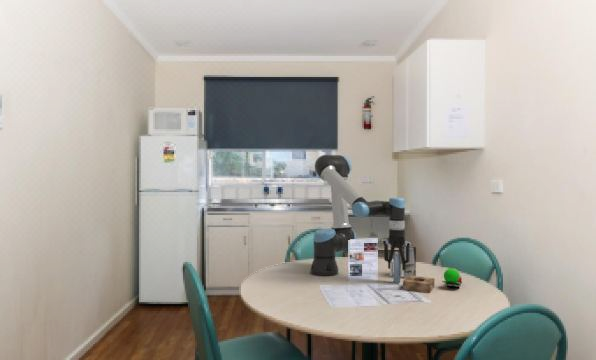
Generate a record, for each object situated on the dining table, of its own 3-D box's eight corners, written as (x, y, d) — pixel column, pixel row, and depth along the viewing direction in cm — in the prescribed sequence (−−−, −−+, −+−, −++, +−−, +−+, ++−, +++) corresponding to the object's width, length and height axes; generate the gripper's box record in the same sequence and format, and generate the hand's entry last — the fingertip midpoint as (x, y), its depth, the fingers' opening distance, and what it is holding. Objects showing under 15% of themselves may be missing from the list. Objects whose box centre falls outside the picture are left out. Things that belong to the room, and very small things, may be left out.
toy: (445, 290, 206) (440, 280, 195) (446, 275, 210) (442, 264, 199) (463, 292, 202) (460, 282, 191) (465, 277, 206) (461, 266, 194)
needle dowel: (392, 282, 208) (392, 252, 208) (394, 281, 211) (394, 251, 211) (399, 283, 206) (399, 252, 206) (400, 282, 209) (400, 251, 209)
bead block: (403, 289, 195) (403, 281, 195) (409, 283, 206) (409, 275, 206) (429, 292, 190) (429, 284, 190) (434, 286, 200) (434, 278, 200)
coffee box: (416, 278, 216) (416, 247, 216) (403, 278, 216) (403, 247, 216) (411, 274, 225) (411, 244, 225) (399, 274, 226) (399, 244, 225)
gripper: (377, 228, 209) (377, 275, 209) (413, 230, 201) (413, 279, 201) (381, 227, 216) (381, 272, 216) (416, 229, 208) (416, 276, 208)
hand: (396, 275), depth 209 cm, fingers open, 4 cm apart
